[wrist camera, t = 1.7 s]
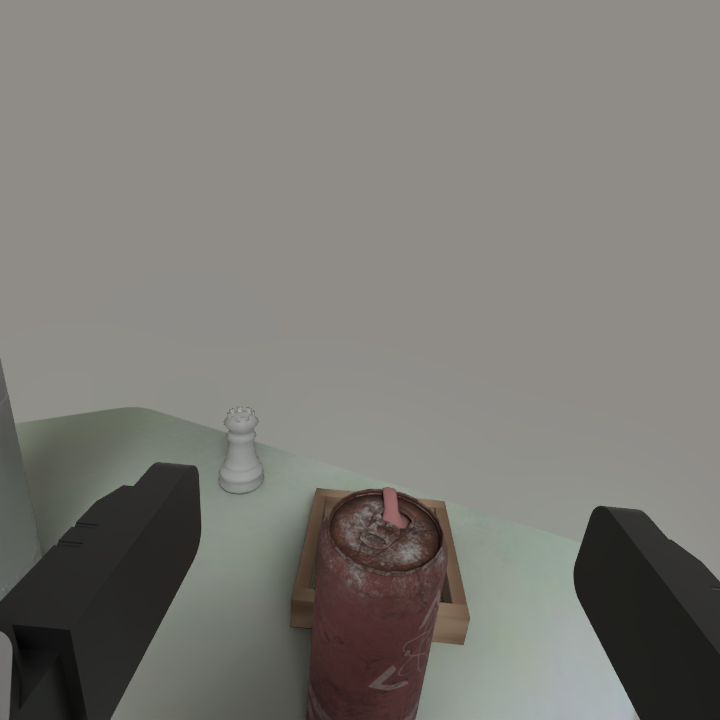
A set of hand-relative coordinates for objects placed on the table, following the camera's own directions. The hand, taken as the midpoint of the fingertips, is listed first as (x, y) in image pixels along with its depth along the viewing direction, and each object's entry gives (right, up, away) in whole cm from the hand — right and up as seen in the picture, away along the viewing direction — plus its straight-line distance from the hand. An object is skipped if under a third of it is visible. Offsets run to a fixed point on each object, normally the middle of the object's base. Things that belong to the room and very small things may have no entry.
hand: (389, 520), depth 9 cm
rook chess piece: (-13, -9, +35) cm, 38 cm away
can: (-1, -18, +16) cm, 24 cm away
